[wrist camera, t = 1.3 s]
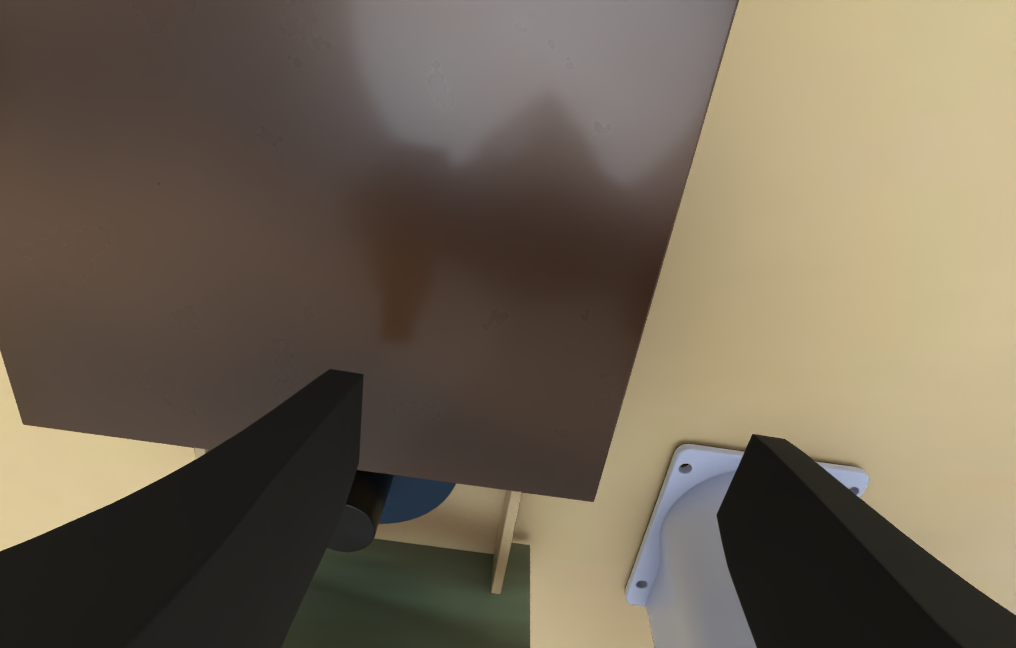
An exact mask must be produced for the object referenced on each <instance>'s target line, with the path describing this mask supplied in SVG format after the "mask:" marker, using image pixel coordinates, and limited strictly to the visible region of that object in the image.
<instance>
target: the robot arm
mask: <svg viewBox="0 0 1016 648" xmlns="http://www.w3.org/2000/svg"><path fill="white" fill-rule="evenodd" d="M363 378H364V374H360V373H354V372H347V371H341V370H334V369H329V370H328V371H326V372H325V373H323V374H322V375H320V376H319V377H317V378H316V379H314V380H313V381H312V382H310V383H309V384H308V385H306V386H305V387H303V388H302V389H301V390H299V391H298V392H297V393H295V394H294V395H292V396H291V397H290V398H288V399H287V400H285V401H284V402H283V403H281V404H280V405H279V406H277V407H276V408H274V409H273V410H271V411H270V412H268V413H267V414H266V415H264V416H263V417H261V418H260V419H258V420H257V421H255V422H254V423H252V424H251V425H250V426H248V427H247V428H245V429H244V430H242V431H241V432H239V433H238V434H236V435H234V436H233V437H231V438H230V439H228V440H226V441H225V442H223V443H222V444H220V445H218V446H217V447H215V448H214V449H212V450H210V451H209V452H207V453H205V454H204V455H202V456H201V457H199V458H197V459H196V460H194V461H192V462H191V463H189V464H187V465H185V466H184V467H182V468H180V469H178V470H176V471H174V472H173V473H171V474H169V475H167V476H165V477H164V478H162V479H160V480H158V481H156V482H154V483H152V484H150V485H148V486H146V487H144V488H142V489H140V490H138V491H136V492H134V493H132V494H130V495H128V496H126V497H124V498H122V499H120V500H118V501H116V502H114V503H112V504H110V505H108V506H105V507H103V508H101V509H98V510H96V511H94V512H92V513H89V514H87V515H85V516H83V517H80V518H78V519H76V520H74V521H71V522H69V523H67V524H65V525H62V526H60V527H58V528H56V529H53V530H51V531H49V532H47V533H44V534H42V535H40V536H37V537H35V538H33V539H30V540H28V541H25V542H23V543H20V544H18V545H15V546H13V547H10V548H8V549H5V550H3V551H0V648H282V645H283V643H284V641H285V638H286V636H287V633H288V631H289V629H290V626H291V624H292V622H293V620H294V618H295V616H296V613H297V611H298V609H299V607H300V605H301V603H302V600H303V598H304V596H305V594H306V592H307V590H308V588H309V585H310V583H311V581H312V579H313V577H314V575H315V572H316V570H317V568H318V566H319V564H320V562H321V559H322V557H323V555H324V553H325V551H326V549H327V546H328V544H329V542H330V540H331V538H332V535H333V533H334V531H335V529H336V527H337V525H338V522H339V520H340V518H341V516H342V513H343V511H344V508H345V505H346V502H347V499H348V496H349V493H350V490H351V487H352V483H353V480H354V477H355V474H356V471H357V467H358V464H359V456H360V436H361V417H362V397H363ZM682 464H688V465H687V466H685V467H680V465H682ZM869 480H870V479H869V476H868V475H867V473H866V472H865V471H864V470H863V469H861V468H858V467H851V466H844V465H837V464H830V463H823V462H816V461H814V460H813V459H811V458H810V457H809V456H807V455H806V454H805V453H804V452H802V451H801V450H800V449H798V448H797V447H796V446H794V445H793V444H791V443H790V442H788V441H787V440H785V439H781V438H775V437H768V436H762V435H755V434H752V436H751V439H750V441H749V443H748V445H747V448H746V450H745V452H744V451H737V450H730V449H723V448H716V447H709V446H702V445H694V444H684V445H681V446H679V447H678V448H677V449H676V450H675V452H674V455H673V458H672V461H671V463H670V466H669V469H668V472H667V475H666V477H665V480H664V483H663V486H662V489H661V491H660V494H659V497H658V500H657V503H656V505H655V508H654V511H653V514H652V516H651V519H650V522H649V525H648V528H647V530H646V533H645V536H644V539H643V542H642V544H641V547H640V550H639V553H638V556H637V558H636V561H635V564H634V567H633V570H632V572H631V575H630V578H629V581H628V584H627V586H626V589H625V598H626V601H627V602H628V603H630V604H632V605H638V606H646V608H647V613H648V618H649V622H650V627H651V632H652V637H653V642H654V647H655V648H1016V615H1014V614H1013V613H1011V612H1010V611H1008V610H1007V609H1005V608H1004V607H1003V606H1001V605H1000V604H998V603H997V602H995V601H994V600H992V599H991V598H989V597H988V596H986V595H985V594H984V593H982V592H981V591H979V590H978V589H977V588H975V587H974V586H972V585H971V584H970V583H968V582H967V581H965V580H964V579H963V578H961V577H960V576H959V575H957V574H956V573H955V572H953V571H952V570H951V569H949V568H948V567H947V566H945V565H944V564H943V563H941V562H940V561H939V560H937V559H936V558H935V557H933V556H932V555H931V554H929V553H928V552H927V551H925V550H924V549H923V548H921V547H920V546H919V545H918V544H916V543H915V542H914V541H913V540H911V539H910V538H909V537H907V536H906V535H905V534H904V533H902V532H901V531H900V530H899V529H897V528H896V527H895V526H894V525H892V524H891V523H890V522H889V521H887V520H886V519H885V518H884V517H882V516H881V515H880V514H879V513H877V512H876V511H875V510H874V509H873V508H871V507H870V506H869V505H868V504H866V503H865V502H864V501H863V500H862V499H860V497H861V496H862V494H863V492H864V490H865V489H866V487H867V485H868V484H869ZM851 487H852V488H851ZM848 488H851V489H848Z"/></svg>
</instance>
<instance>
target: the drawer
mask: <svg viewBox="0 0 1016 648" xmlns="http://www.w3.org/2000/svg"><path fill="white" fill-rule="evenodd" d="M194 450H195V457H196V459H197V458H199V457H201V456H202V455H204V454H205V453H207V452H209V451H210V450H207V449H199V448H194ZM521 494H522V492H516V491H508V490H501V489H494V488H486V487H479V486H472V485H464V484H457V483H456V485H455V487H454V489H453V490H452V492H451V494H450V495H449V496H448V497H447V498H446V499H445V501H444V502H442V503H441V504H440V505H439V506H438V507H437V508H435V509H433V510H432V511H430V512H429V513H427V514H425V515H423V516H421V517H418V518H415V519H412V520H409V521H404V522H400V523H391V524H379V525H378V528H377V531H376V534H375V537H374V539H373V541H372V542H371V543H370V544H369V545H368V546H367V547H365V548H364V549H361V550H359V551H354V552H340V551H335V550H332V549H329V548H327V549H326V551H325V553H324V555H323V557H322V559H321V562H320V564H319V566H318V568H317V570H316V572H315V575H314V577H313V579H312V581H311V583H310V585H309V588H308V590H307V592H306V594H305V596H304V598H303V600H302V603H301V605H300V607H299V609H298V611H297V613H296V616H295V618H294V620H293V622H292V624H291V626H290V629H289V631H288V633H287V636H286V638H285V641H284V643H283V645H282V648H530V545H524V544H517V543H511V542H512V537H513V533H514V528H515V523H516V518H517V514H518V509H519V504H520V499H521Z"/></svg>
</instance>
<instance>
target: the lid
mask: <svg viewBox="0 0 1016 648" xmlns="http://www.w3.org/2000/svg"><path fill="white" fill-rule="evenodd" d="M455 485H456V483H449V482H442V481H435V480H427V479H420V478H413V477H405V476H398V475H391V474H383V473H376V472H369V471H361V470H357V471H356V474H355V477H354V480H353V483H352V487H351V490H350V493H349V496H348V499H347V502H346V505H345V508H344V511H343V513H342V516H341V518H340V520H339V522H338V525H337V527H336V529H335V531H334V533H333V535H332V538H331V540H330V542H329V544H328V546H327V548H329V549H332V550H335V551H340V552H354V551H359V550H361V549H364V548H365V547H367V546H368V545H369V544H370V543H371V542H372V541H373V539H374V537H375V534H376V531H377V528H378V525H379V524H391V523H400V522H404V521H409V520H412V519H415V518H418V517H421V516H423V515H425V514H427V513H429V512H430V511H432V510H433V509H435V508H437V507H438V506H439V505H440V504H441V503H442V502H444V501H445V499H446V498H447V497H448V496H449V495H450V494H451V492H452V490H453V489H454V487H455Z"/></svg>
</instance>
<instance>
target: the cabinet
mask: <svg viewBox="0 0 1016 648" xmlns="http://www.w3.org/2000/svg"><path fill="white" fill-rule="evenodd" d="M738 2H739V0H0V351H1V354H2V357H3V361H4V364H5V367H6V370H7V374H8V377H9V380H10V383H11V387H12V390H13V393H14V396H15V400H16V403H17V406H18V410H19V413H20V416H21V419H22V423H23V424H24V425H30V426H37V427H45V428H52V429H60V430H67V431H74V432H82V433H89V434H96V435H104V436H111V437H118V438H126V439H133V440H140V441H148V442H155V443H163V444H170V445H177V446H185V447H192V448H199V449H207V450H212V449H214V448H215V447H217V446H218V445H220V444H222V443H223V442H225V441H226V440H228V439H230V438H231V437H233V436H234V435H236V434H238V433H239V432H241V431H242V430H244V429H245V428H247V427H248V426H250V425H251V424H252V423H254V422H255V421H257V420H258V419H260V418H261V417H263V416H264V415H266V414H267V413H268V412H270V411H271V410H273V409H274V408H276V407H277V406H279V405H280V404H281V403H283V402H284V401H285V400H287V399H288V398H290V397H291V396H292V395H294V394H295V393H297V392H298V391H299V390H301V389H302V388H303V387H305V386H306V385H308V384H309V383H310V382H312V381H313V380H314V379H316V378H317V377H319V376H320V375H322V374H323V373H325V372H326V371H328V370H329V369H334V370H341V371H347V372H354V373H360V374H364V378H363V397H362V417H361V436H360V456H359V464H358V467H357V470H361V471H369V472H376V473H383V474H391V475H398V476H405V477H413V478H420V479H427V480H435V481H442V482H449V483H457V484H464V485H472V486H479V487H486V488H494V489H501V490H508V491H516V492H523V493H530V494H538V495H545V496H552V497H560V498H567V499H575V500H582V501H589V502H594V500H595V496H596V493H597V489H598V486H599V482H600V479H601V475H602V472H603V469H604V465H605V462H606V458H607V455H608V451H609V448H610V444H611V441H612V437H613V434H614V431H615V427H616V424H617V420H618V417H619V413H620V410H621V406H622V403H623V399H624V396H625V393H626V389H627V386H628V382H629V379H630V375H631V372H632V368H633V365H634V361H635V358H636V354H637V351H638V348H639V344H640V341H641V337H642V334H643V330H644V327H645V323H646V320H647V316H648V313H649V310H650V306H651V303H652V299H653V296H654V292H655V289H656V285H657V282H658V278H659V275H660V272H661V268H662V265H663V261H664V258H665V254H666V251H667V247H668V244H669V240H670V237H671V234H672V230H673V227H674V223H675V220H676V216H677V213H678V209H679V206H680V202H681V199H682V195H683V192H684V189H685V185H686V182H687V178H688V175H689V171H690V168H691V164H692V161H693V157H694V154H695V151H696V147H697V144H698V140H699V137H700V133H701V130H702V126H703V123H704V119H705V116H706V113H707V109H708V106H709V102H710V99H711V95H712V92H713V88H714V85H715V81H716V78H717V75H718V71H719V68H720V64H721V61H722V57H723V54H724V50H725V47H726V43H727V40H728V36H729V33H730V30H731V26H732V23H733V19H734V16H735V12H736V9H737V5H738Z"/></svg>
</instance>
